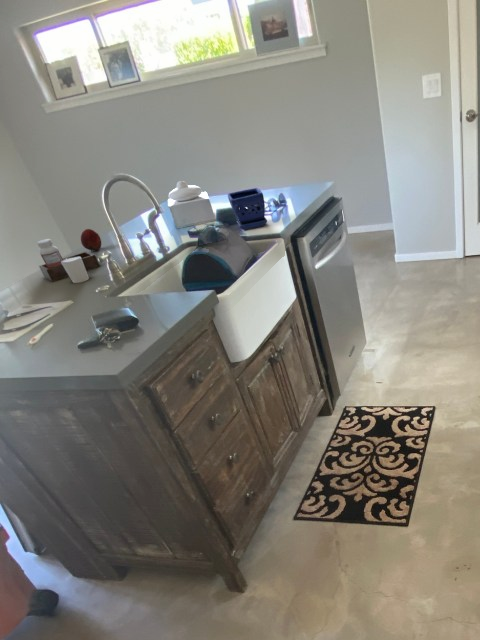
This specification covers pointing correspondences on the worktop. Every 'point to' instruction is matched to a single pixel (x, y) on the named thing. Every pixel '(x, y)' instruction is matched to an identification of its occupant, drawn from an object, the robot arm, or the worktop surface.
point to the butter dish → (189, 205)
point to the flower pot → (248, 208)
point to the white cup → (75, 269)
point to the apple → (90, 240)
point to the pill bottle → (49, 253)
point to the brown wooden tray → (60, 272)
